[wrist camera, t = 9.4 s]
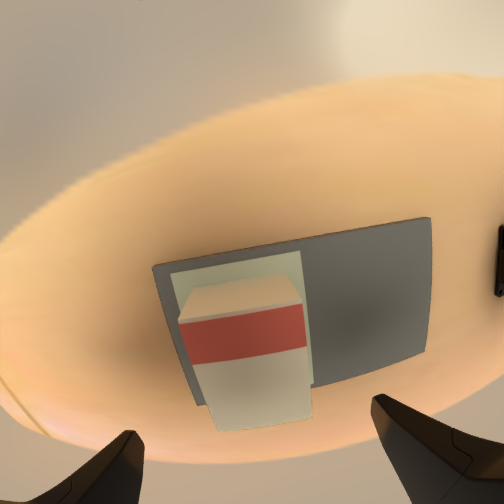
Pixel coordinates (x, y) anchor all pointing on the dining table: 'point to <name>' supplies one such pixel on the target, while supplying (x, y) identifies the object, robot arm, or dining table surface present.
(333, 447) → the dining table surface
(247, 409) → the card box
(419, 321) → the mat
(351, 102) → the dining table surface
